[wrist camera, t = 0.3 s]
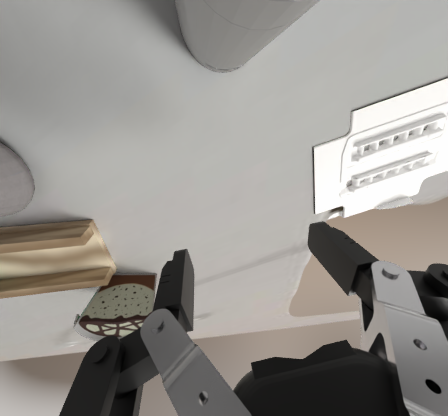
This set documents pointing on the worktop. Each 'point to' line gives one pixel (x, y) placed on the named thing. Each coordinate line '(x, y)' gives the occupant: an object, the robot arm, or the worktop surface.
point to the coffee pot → (14, 183)
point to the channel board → (52, 258)
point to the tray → (384, 153)
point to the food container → (118, 307)
